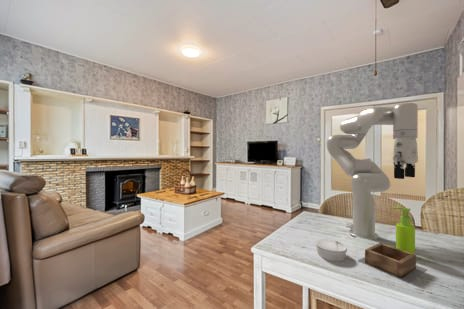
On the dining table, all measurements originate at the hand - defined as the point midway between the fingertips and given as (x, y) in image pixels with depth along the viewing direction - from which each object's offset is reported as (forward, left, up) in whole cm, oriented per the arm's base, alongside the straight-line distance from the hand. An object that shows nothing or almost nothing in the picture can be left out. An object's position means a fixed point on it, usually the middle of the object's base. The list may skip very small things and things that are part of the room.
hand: (404, 177), depth 84 cm
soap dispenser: (0, 0, -32) cm, 32 cm away
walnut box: (+1, -14, -31) cm, 34 cm away
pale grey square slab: (+1, -13, -32) cm, 35 cm away
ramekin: (-15, -25, -32) cm, 44 cm away
